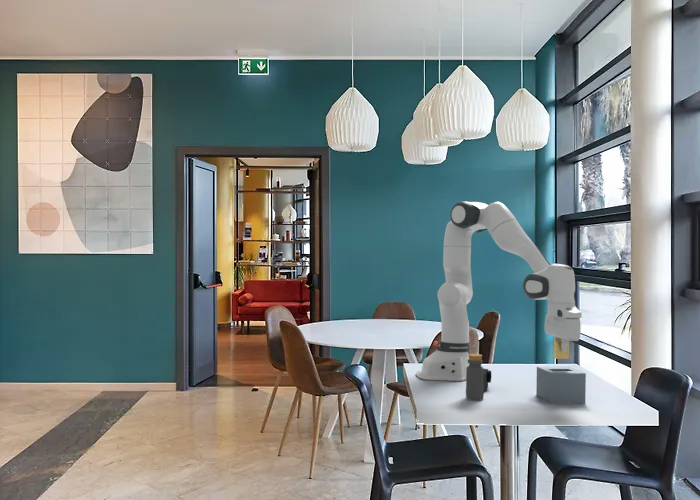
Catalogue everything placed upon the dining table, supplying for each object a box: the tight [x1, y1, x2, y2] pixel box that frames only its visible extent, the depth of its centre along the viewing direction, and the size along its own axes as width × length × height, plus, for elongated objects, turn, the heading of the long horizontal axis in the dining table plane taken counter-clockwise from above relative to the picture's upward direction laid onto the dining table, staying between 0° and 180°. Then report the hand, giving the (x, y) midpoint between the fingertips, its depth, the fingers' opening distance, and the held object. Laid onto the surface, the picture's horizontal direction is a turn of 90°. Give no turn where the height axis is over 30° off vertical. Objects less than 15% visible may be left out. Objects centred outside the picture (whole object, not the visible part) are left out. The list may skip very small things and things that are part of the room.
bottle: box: [465, 353, 485, 402], centre depth 200 cm, size 6×6×15 cm
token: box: [553, 339, 570, 360], centre depth 202 cm, size 4×2×6 cm, turn 95°
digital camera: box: [483, 368, 492, 394], centre depth 215 cm, size 10×5×7 cm, turn 159°
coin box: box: [536, 366, 587, 404], centre depth 202 cm, size 12×12×10 cm
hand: (561, 350), depth 202 cm, fingers closed on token, 2 cm apart
